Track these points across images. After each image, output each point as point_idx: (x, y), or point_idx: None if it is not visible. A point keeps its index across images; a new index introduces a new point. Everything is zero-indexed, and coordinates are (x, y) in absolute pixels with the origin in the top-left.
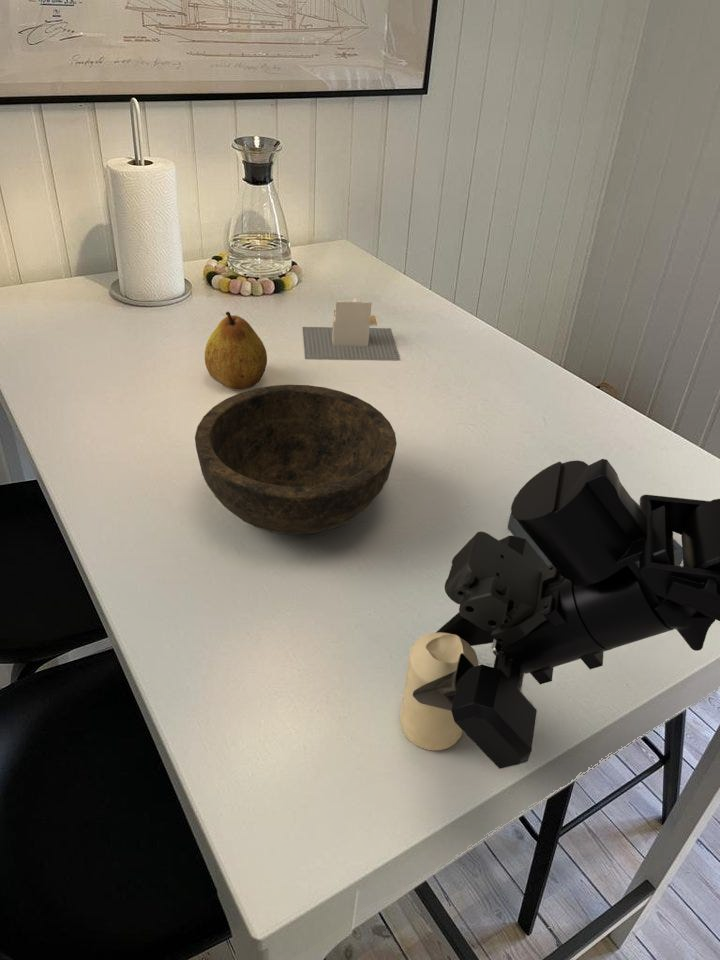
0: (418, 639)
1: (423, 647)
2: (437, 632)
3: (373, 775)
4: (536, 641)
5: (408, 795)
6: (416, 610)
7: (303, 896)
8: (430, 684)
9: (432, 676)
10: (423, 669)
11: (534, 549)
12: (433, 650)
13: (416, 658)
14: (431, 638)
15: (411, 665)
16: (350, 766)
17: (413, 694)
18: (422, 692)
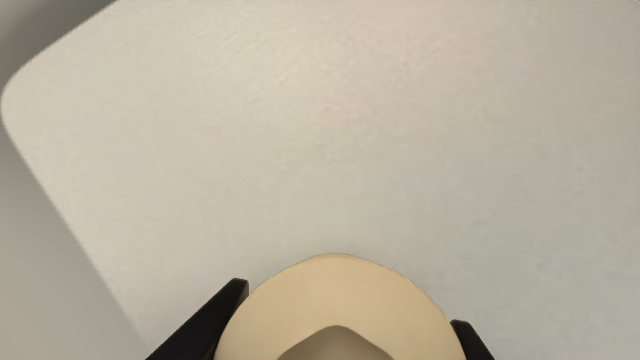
0: (410, 287)
1: (339, 313)
2: (482, 356)
3: (217, 217)
4: None
5: (186, 280)
6: (624, 268)
7: (26, 141)
8: (191, 346)
9: (227, 353)
10: (253, 316)
11: None
12: (344, 355)
13: (300, 285)
14: (399, 346)
15: (289, 268)
16: (229, 177)
17: (229, 281)
18: (195, 313)
